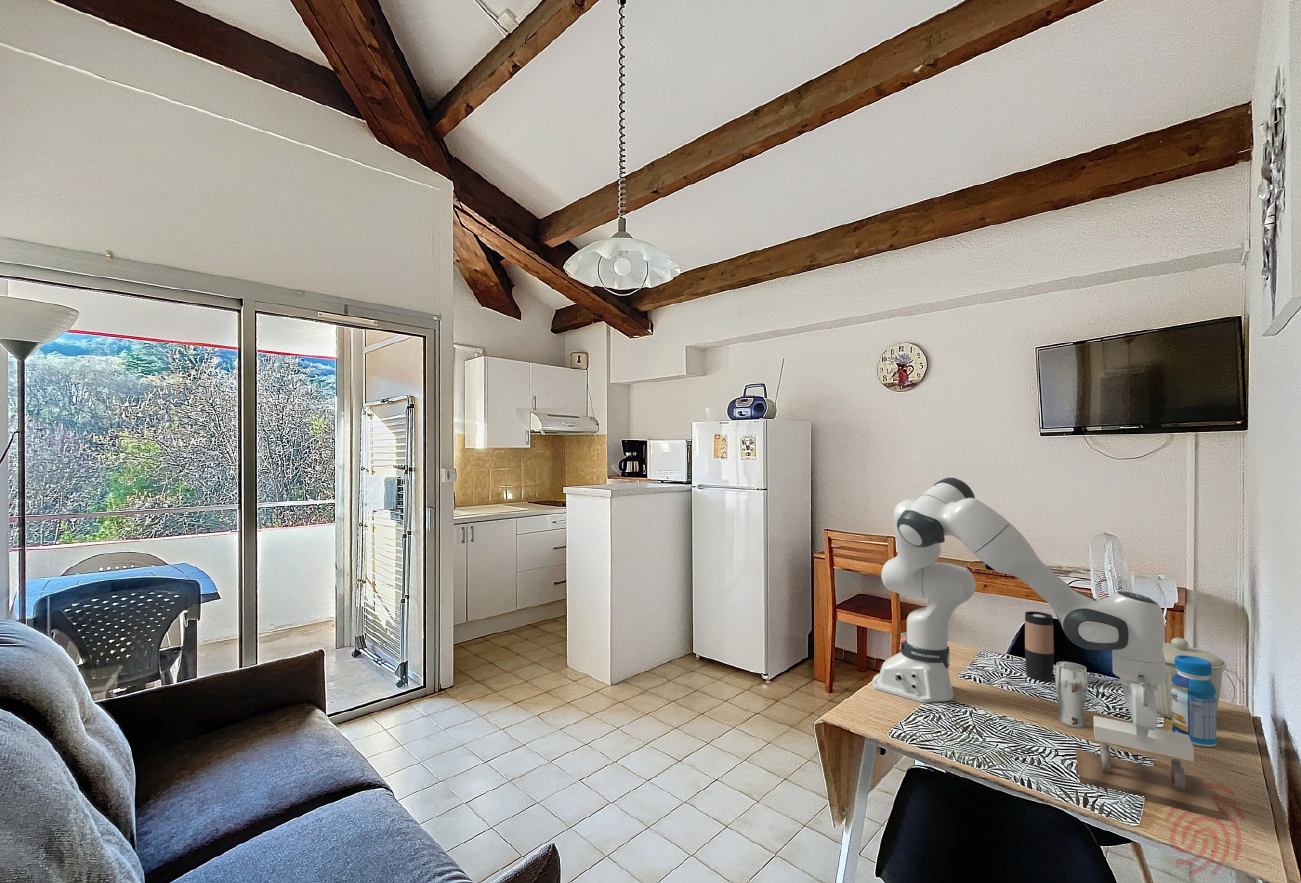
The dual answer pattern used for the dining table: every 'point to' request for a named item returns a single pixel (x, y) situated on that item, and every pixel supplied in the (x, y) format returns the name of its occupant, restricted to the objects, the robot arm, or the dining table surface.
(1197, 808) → the peg stand
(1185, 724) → the beverage bottle
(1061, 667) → the beer glass
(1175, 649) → the canister
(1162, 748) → the shelf board
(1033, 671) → the travel mug
